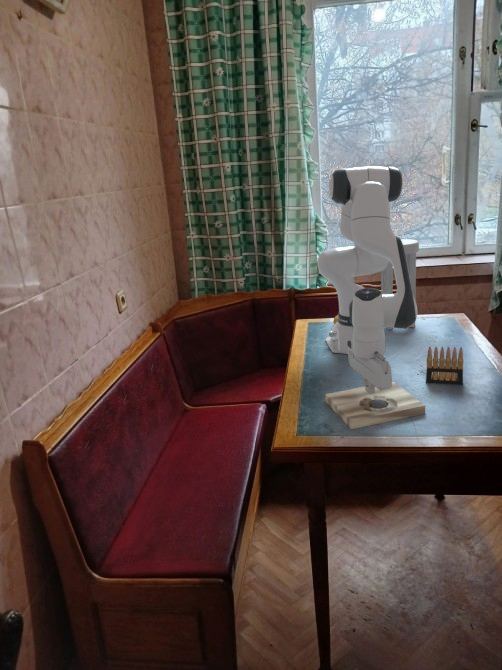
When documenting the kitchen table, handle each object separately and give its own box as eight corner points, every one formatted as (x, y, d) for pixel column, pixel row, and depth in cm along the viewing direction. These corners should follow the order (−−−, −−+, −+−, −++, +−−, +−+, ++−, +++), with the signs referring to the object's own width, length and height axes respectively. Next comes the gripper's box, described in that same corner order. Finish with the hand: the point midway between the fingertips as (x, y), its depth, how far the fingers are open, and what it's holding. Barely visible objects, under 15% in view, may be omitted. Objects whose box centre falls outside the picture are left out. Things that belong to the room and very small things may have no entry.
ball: (374, 417, 138) (368, 408, 141) (387, 415, 138) (381, 405, 141) (376, 407, 135) (370, 397, 138) (390, 404, 136) (383, 395, 139)
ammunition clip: (462, 382, 152) (464, 345, 149) (463, 384, 151) (464, 348, 147) (425, 380, 156) (426, 345, 152) (425, 383, 154) (426, 347, 150)
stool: (375, 320, 218) (374, 240, 207) (411, 317, 217) (412, 237, 206) (383, 331, 204) (382, 246, 193) (421, 328, 203) (423, 242, 192)
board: (325, 401, 149) (325, 394, 148) (392, 388, 153) (392, 380, 152) (351, 429, 132) (350, 421, 131) (425, 413, 136) (425, 405, 135)
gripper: (398, 357, 129) (398, 404, 134) (363, 335, 148) (364, 377, 153) (376, 361, 128) (376, 409, 132) (343, 338, 147) (345, 381, 151)
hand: (369, 391), depth 143 cm, fingers closed
